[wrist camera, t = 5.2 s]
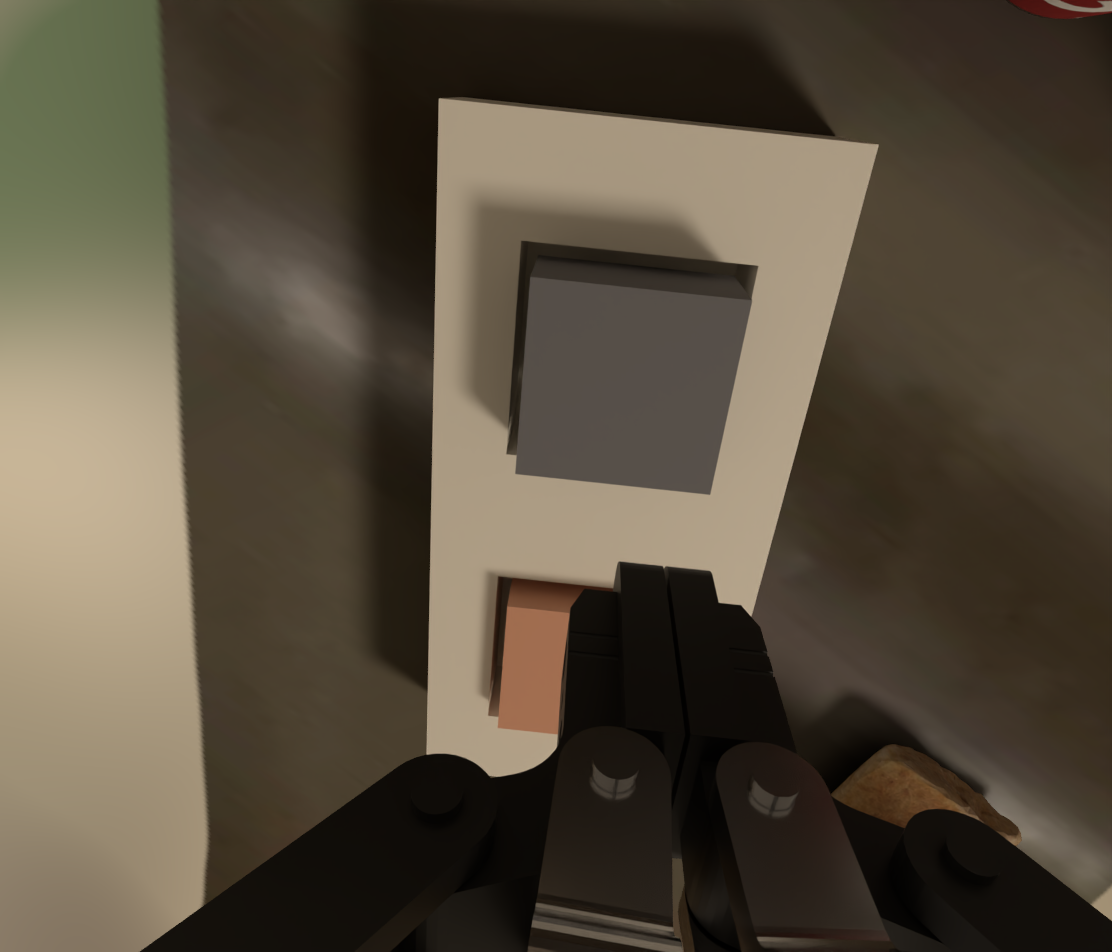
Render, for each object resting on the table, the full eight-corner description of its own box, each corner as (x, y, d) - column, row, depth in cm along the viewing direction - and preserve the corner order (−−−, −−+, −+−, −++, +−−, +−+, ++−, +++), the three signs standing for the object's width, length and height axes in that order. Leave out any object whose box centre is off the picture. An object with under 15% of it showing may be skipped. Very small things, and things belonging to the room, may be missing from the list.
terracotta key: (515, 559, 29) (507, 606, 27) (667, 575, 29) (673, 624, 27) (506, 675, 32) (497, 727, 29) (644, 689, 32) (648, 744, 29)
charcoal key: (538, 255, 23) (530, 276, 20) (734, 275, 23) (752, 300, 20) (524, 433, 25) (515, 474, 23) (698, 452, 25) (710, 494, 23)
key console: (462, 97, 24) (438, 98, 20) (837, 136, 24) (878, 144, 20) (443, 701, 36) (426, 769, 32) (692, 728, 36) (702, 798, 32)
